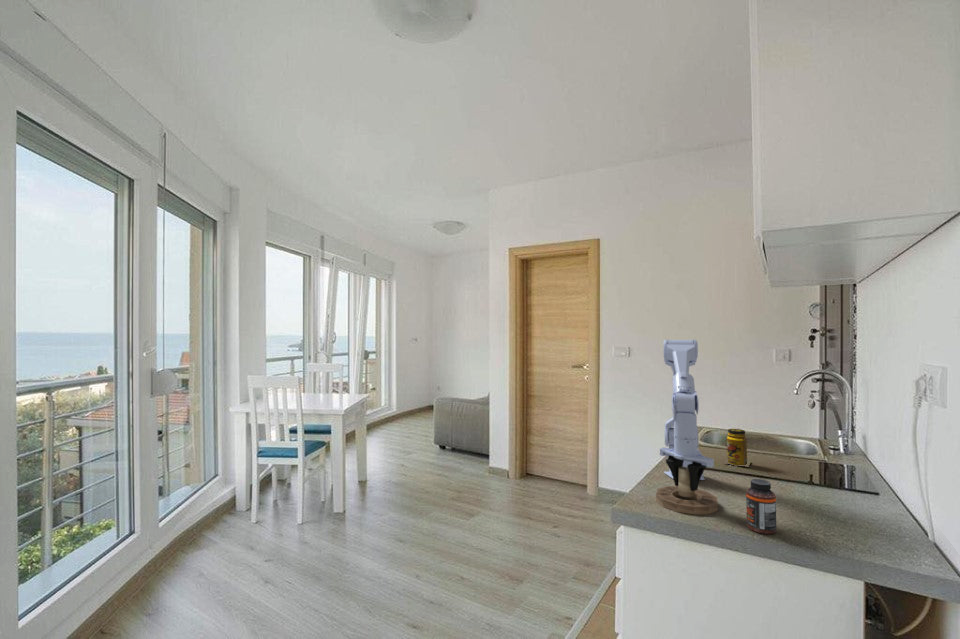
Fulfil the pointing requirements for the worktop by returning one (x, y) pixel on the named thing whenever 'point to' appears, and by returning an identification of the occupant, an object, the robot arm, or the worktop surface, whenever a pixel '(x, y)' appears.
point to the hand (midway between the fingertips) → (686, 487)
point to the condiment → (736, 447)
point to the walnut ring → (687, 501)
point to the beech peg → (684, 483)
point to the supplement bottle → (761, 507)
